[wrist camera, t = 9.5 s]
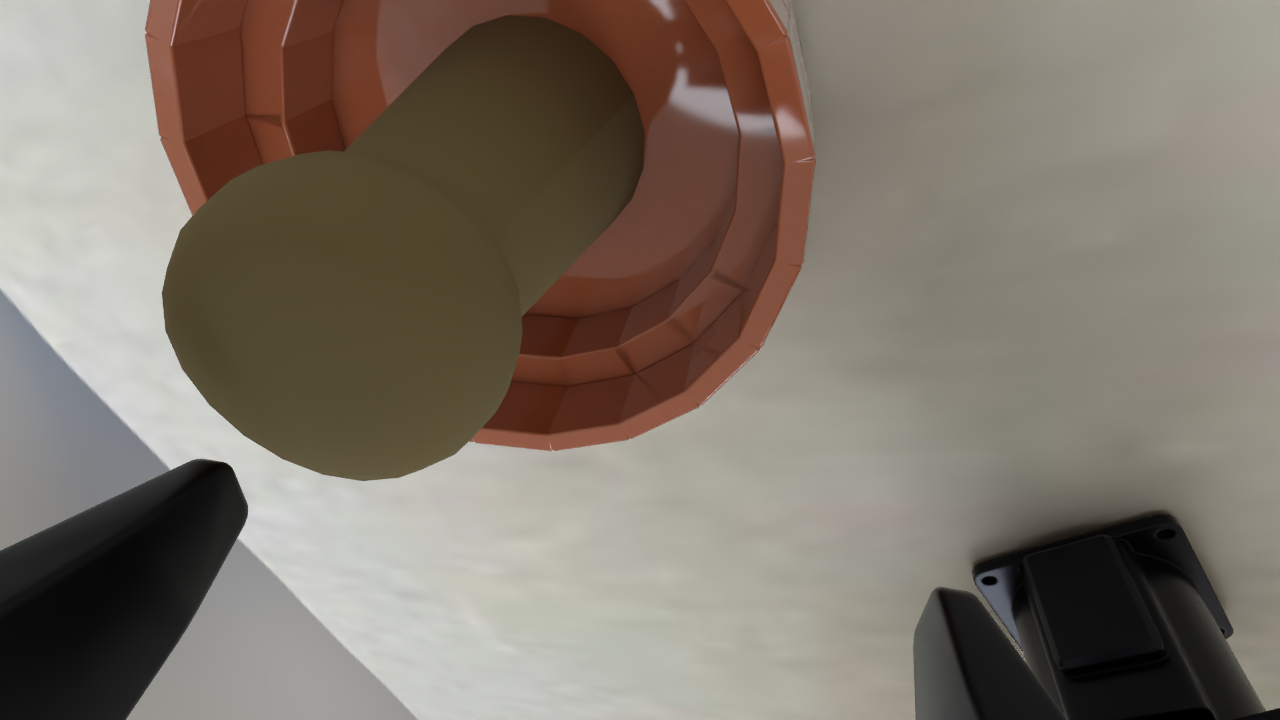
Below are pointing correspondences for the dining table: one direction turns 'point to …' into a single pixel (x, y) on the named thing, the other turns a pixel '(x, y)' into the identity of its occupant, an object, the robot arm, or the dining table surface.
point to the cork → (405, 254)
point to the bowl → (624, 253)
